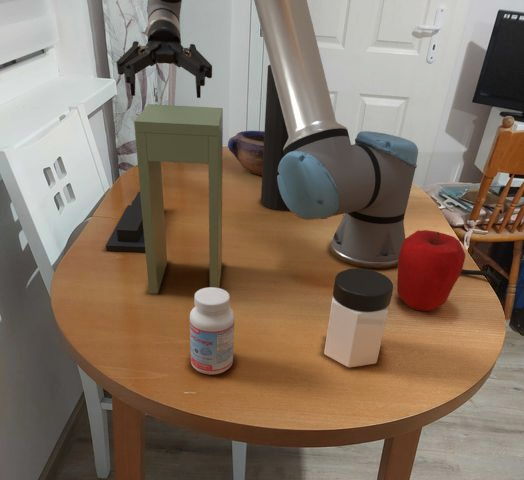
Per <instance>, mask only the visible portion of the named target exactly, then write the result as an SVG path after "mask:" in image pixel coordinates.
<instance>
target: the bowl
mask: <svg viewBox="0 0 524 480" xmlns="http://www.w3.org/2000/svg"><path fill="white" fill-rule="evenodd" d="M264 131H265V130H244V131H240V132H237V133H236V134H235V135H234V136H232V137H230V138H229V139H228V142H227V147H228V150H229V152H231V154H232V155H233V156H234V157H235V159H236V160H237V161H238V162H239V164H240V165H241V166H242V167H243V168H244V169H245V170H246V171H247V172H249V173H250V174H253V175H258V176H262V170H263V150H264Z"/></svg>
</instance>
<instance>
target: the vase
mask: <svg viewBox="0 0 524 480" xmlns="http://www.w3.org/2000/svg"><path fill="white" fill-rule="evenodd" d="M266 75H267V77H266V93H265V95H266V96H265V115H264V130H263V131H264V150H263V170H262V175H261V190H260V203H261V204H262V206H264V207H266V208H268V209H271V210H275V211H290V210H289V208H288V207H287V206H286V204H285V202H284V201H283V199H282V196H281V194H280V191H279V187H278V180H277V176H278V175H279V172H278V166H279V163H280V161H281V160H282V158H283V157H284V156H285V155H284V151H283V148H284V146H285V144H286V142H287V140H288V138H289V136H288V132H287V128H286V124H285V120H284V116H283V112H282V108H281V104H280V100H279V96H278V92H277V89H276V85H275V81H274V77H273V73H272V69H271V65H270V64H268V65H267V73H266Z"/></svg>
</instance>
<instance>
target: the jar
mask: <svg viewBox="0 0 524 480" xmlns="http://www.w3.org/2000/svg"><path fill="white" fill-rule="evenodd" d="M393 292H394V283H393V281H392V280H391V279H390V278H389V277H388V276H387V275H385V274H383V273H381V272H379V271H376V270H374V269H369V268H361V267H359V268H357V267H356V268H348V269H344V270H342V271H339V272H338V273H337V274H336V275H335V278H334V284H333V291H332V299H331V305H330V310H329V311H330V312H329V318H328V325H327V331H326V337H325V345H324V351H323V354H324V355H325V356H327V357H328V358H330V359H332V360H334V361H336V362H337V363H338V364H339V363H340V364H341V365H343V366H345V367H346V368H348V369H349V368H355V367H363V366H369V365H374V364H377V362H378V358H379V354H380V350H381V346H382V341H383V337H384V332H385V327H386V323H387V319H388V314H389V309H390V308H389V306H390V304H391V300H392V296H393Z"/></svg>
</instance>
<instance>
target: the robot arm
mask: <svg viewBox="0 0 524 480" xmlns="http://www.w3.org/2000/svg"><path fill="white" fill-rule="evenodd" d="M182 2H183V0H147V6H146V12H147V43H145V45H141V44H139V43H140V42H139V41H137V40H134V41H133V42H132V45H131V47H130V48H129V49H127V51H125V52H124V54H123V55H122V56H120V57H119V58H118V60H116V68H117V74H118V75H120V76H122V75H124V78H125V83H126V84H129V86H130V88H129V89H130V94H131V95H130V96H131V97H135V96H136V74H138V73H140V72H142V71H143V70H145V69H147V68H148V67H149V66H150V67H153V66H155V65H156V64H169V65H172V64H173V65H174V66H175V67H178V68H182V69H183V70H185V71H187V73H189V74H191V75H192V76H194V77H195V90H196V98H197V99H201V94H202V93H201V92H202V91H201V90H202V89H201V87H205V85H206V78H207V79H212V78H213V64H211V63H210V61H208V60H207V58H205V56H203V54H201V52H200V51H198V49H197V47H196V45H195V44H194V43H190V44H189V47H184V46H183V45H182V38H181V37H182V36H181V20H180V19H181V11H182V10H181V8H182V4H183V3H182ZM253 2H254V6H255V10H256V13H257V18H258V21H259V24H260V30H261V33H262V37H263V41H264V45H265V49H266V54H267V57H268V61H269V65H271V69H272V73H273V77H274V81H275V85H276V89H277V92H278V96H279V100H280V104H281V108H282V112H283V116H284V120H285V124H286V128H287V132H288V136H289V138H288V140H287V142H286V144H285V146H284V148H283V151H284V155H285V156H284V157H283V158H282V160H281V161H280V163H279V166H278V172H279V175H278V176H277V180H278V187H279V191H280V194H281V196H282V199H283V201H284V202H285V204H286V206H287V207H288V208H289V210H288V211H290V212H291V213H292V214H294V215H295V216H297V217H298V218H300V219H303V220H307V221H312V220H325V219H328V218H331V217H334V216H340V215H343V217H342V218H341V221H340V222H339V225H338V226H337V229H335V230H336V231H335V233H333V236H332V240H331V246H330V250H331V253H332V254H333V256H334V257H335V258H337V259H338V260H340V261H342V262H343V263H346V264H349V265H352V266H355V267H359V268H363V269H371V270H374V269H377V270H379V269H381V270H382V269H390V268H394V267H398V257H399V253H400V250H401V247H402V244H403V241H404V239H406V232H405V230H406V229H405V223H404V222H405V216H406V211H407V208H408V204H409V199H410V194H411V190H412V186H413V182H414V177H415V173H416V169H417V167H418V165H417V161H418V155H419V148H418V146H417V144H416V143H415V142H413V141H411V140H409V139H407V138H404V137H400V136H398V135H394V134H389V133H385V132H378V131H369V130H363V131H362V130H361V131H360V132H358V133H357V135H356V137H355V138H354V143H355V144H352V143H351V139H350V133H349V130H348V127H346V126H344V125H342V124H341V123H339V122H338V121H337V119H336V114H335V111H334V106H333V103H332V98H331V94H330V90H329V86H328V83H327V78H326V74H325V70H324V69H325V68H324V64H323V61H322V58H321V57H322V56H321V53H320V49H319V45H318V42H317V37H316V33H315V29H314V24H313V21H312V16H311V12H310V6H309V3H308V0H253ZM332 228H333V229H332V230H334V227H332ZM460 275H468V276H481V277H486V278H488V279H490V281H492V282H493V284H495V285H500V284H501V282H500V280H499V279H498V278H497V276H496V275H495V274H493V273H491V272H489V271H486V270H478V269H473V270H472V269H465V268H463V269H462V272H461V273H460Z"/></svg>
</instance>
